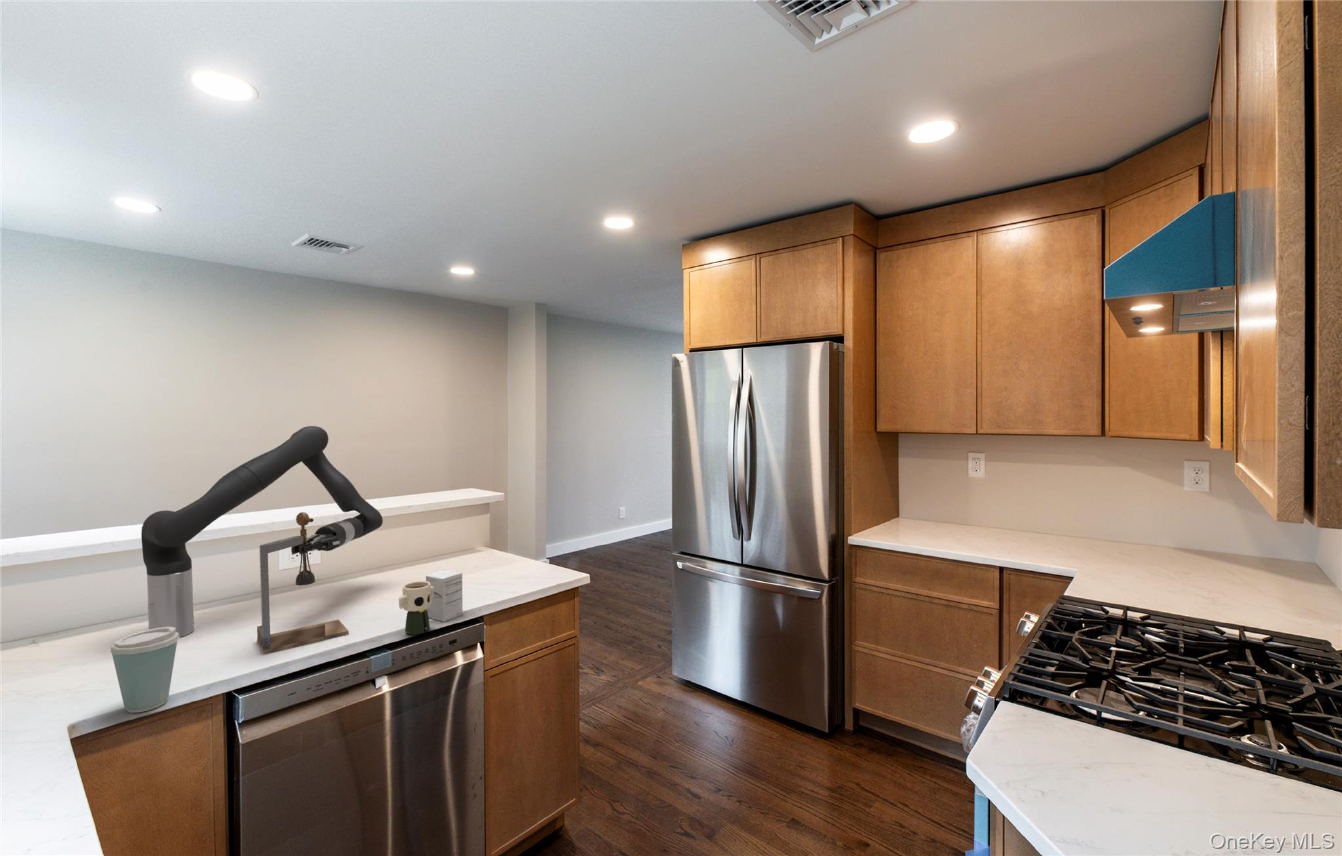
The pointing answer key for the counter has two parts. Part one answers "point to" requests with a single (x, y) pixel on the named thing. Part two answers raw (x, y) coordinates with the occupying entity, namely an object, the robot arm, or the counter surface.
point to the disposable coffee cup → (145, 667)
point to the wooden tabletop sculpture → (305, 575)
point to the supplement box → (445, 595)
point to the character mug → (416, 605)
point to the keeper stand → (264, 637)
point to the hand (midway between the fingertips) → (296, 550)
